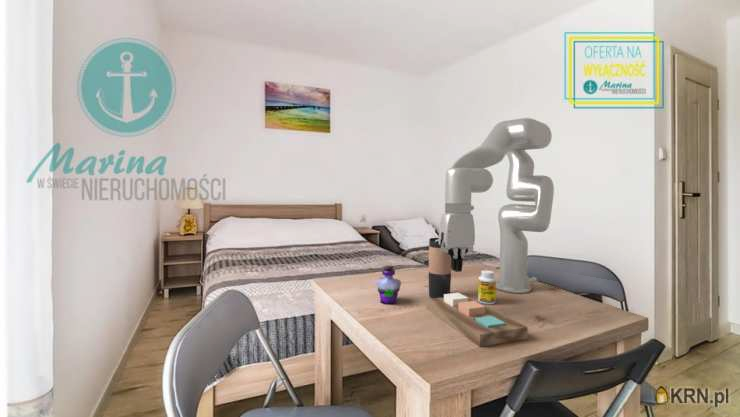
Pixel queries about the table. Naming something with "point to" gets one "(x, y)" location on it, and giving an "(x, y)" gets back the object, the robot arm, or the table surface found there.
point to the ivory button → (454, 299)
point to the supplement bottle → (487, 287)
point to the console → (478, 324)
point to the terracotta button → (471, 308)
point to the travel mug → (438, 270)
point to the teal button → (489, 321)
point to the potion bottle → (388, 286)
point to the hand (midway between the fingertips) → (456, 270)
